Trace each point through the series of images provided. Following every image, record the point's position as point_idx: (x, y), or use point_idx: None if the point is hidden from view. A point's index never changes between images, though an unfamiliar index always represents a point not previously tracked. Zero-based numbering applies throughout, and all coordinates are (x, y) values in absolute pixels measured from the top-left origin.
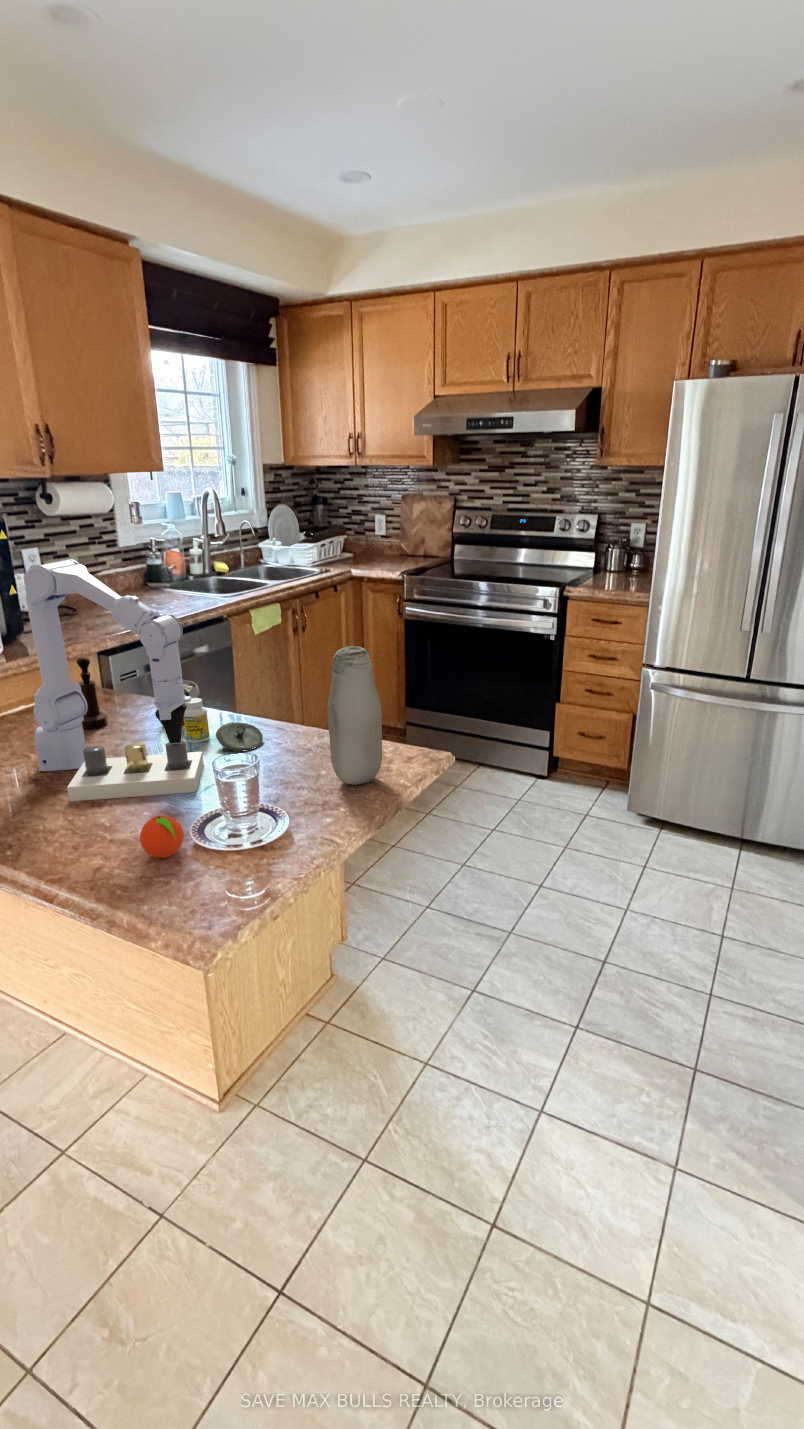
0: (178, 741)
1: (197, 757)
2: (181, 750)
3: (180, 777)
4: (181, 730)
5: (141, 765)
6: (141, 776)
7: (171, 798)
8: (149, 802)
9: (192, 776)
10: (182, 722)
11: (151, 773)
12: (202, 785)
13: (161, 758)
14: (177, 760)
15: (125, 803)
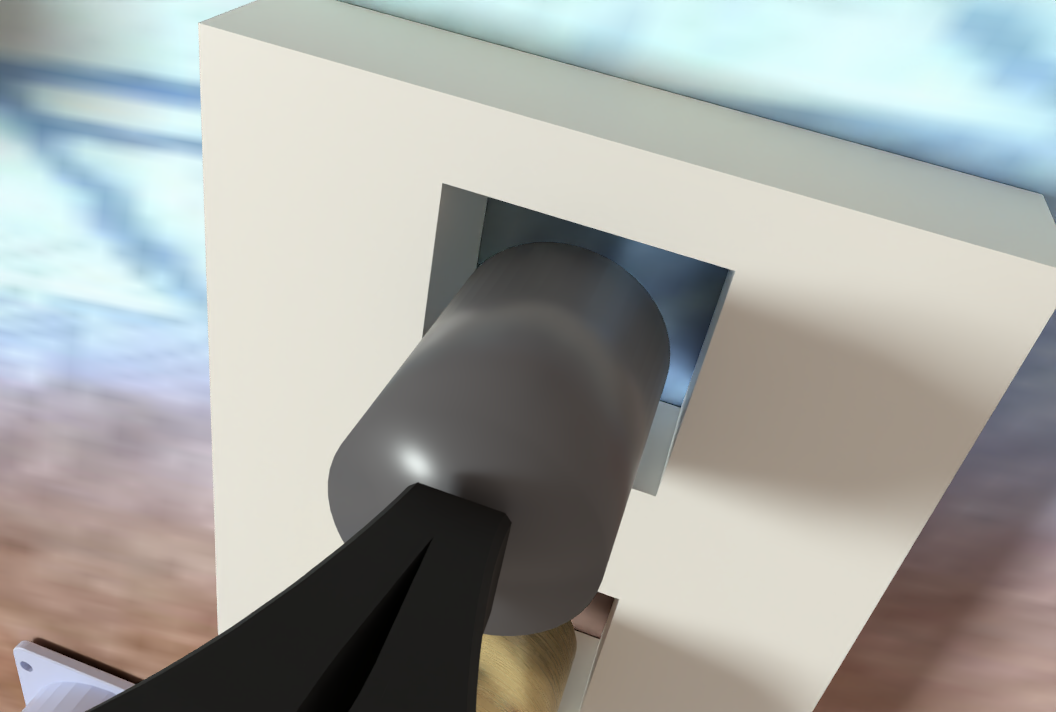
0: (505, 549)
1: (375, 111)
2: (604, 456)
3: (943, 408)
4: (401, 623)
5: (552, 674)
6: (689, 661)
7: (1043, 432)
8: (1002, 586)
9: (1002, 284)
10: (241, 682)
11: (657, 589)
12: (888, 94)
13: (309, 439)
14: (646, 436)
15: (899, 703)
